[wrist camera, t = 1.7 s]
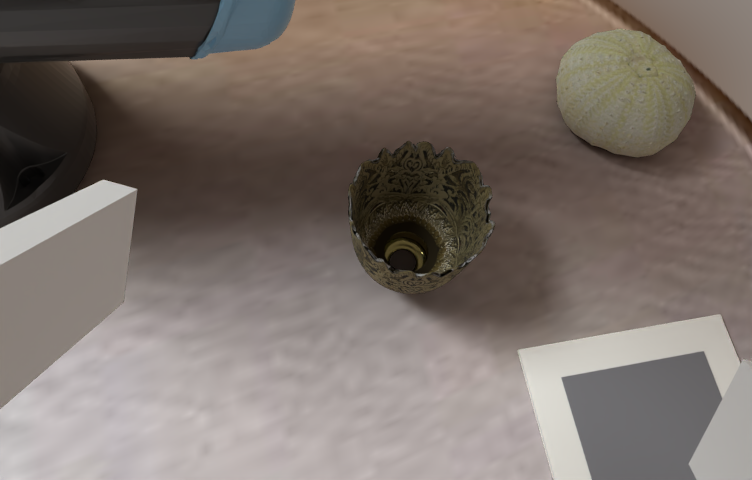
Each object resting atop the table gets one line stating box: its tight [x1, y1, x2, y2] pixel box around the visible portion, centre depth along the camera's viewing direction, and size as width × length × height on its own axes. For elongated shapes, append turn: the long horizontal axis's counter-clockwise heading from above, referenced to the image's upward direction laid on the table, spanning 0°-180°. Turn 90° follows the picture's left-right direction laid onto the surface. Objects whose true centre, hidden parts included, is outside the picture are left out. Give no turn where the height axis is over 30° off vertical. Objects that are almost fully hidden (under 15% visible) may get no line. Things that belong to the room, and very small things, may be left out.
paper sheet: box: [517, 314, 741, 480], centre depth 37 cm, size 13×13×1 cm
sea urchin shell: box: [556, 28, 696, 157], centre depth 44 cm, size 9×8×8 cm
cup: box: [348, 141, 495, 294], centre depth 36 cm, size 8×7×8 cm
